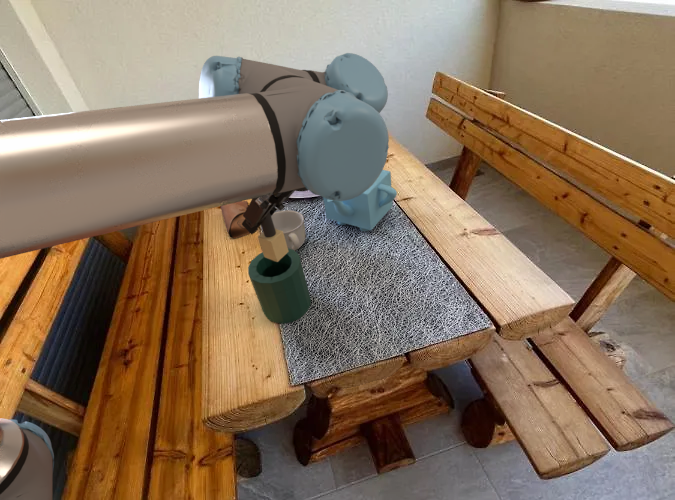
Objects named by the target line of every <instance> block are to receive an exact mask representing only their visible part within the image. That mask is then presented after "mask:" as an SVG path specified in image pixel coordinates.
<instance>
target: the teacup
mask: <svg viewBox="0 0 675 500" xmlns="http://www.w3.org/2000/svg"><path fill="white" fill-rule="evenodd" d="M271 217H272V221H273V224H274V227H275V229H278V230H281V231H283V234H284V237H285V241H286V244H287V248H289V249H292V250H294V251H295V252H296V251H297V250H299V249H300V248H301V247H302V246H303V244H304V243H305V241H306V237H307V236H306V226H305V217H304V216H303V214H302V213H301V212H299V211H296V210H291V209H290V210H281V211H280V210H279V211H275V212H274V214H273V215H272V216H271ZM260 228H261V229H262V227H261V226H260Z"/></svg>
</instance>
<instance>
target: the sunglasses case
mask: <svg viewBox="0 0 675 500" xmlns="http://www.w3.org/2000/svg"><path fill="white" fill-rule="evenodd" d="M248 206H249V202H248V200H244V201H240V202H236V203H232V204H227V205H223V206H219V207H220V211H221V214H222V218H223V221H224V225H225V229H226V232H227V234H228V237H229V238H231V239H234V240H235V239H239V238H242V237H245V236H248V235H251V234H250V233H249V231H248V230H247V229H246V228H245V227H244V226H243V225H242V223H243V221H244V220H245V218H244V217H243V215H244V213H245V211H246V208H247V207H248ZM258 230H259V228H258V229H257V230H256V231H255V232H257V231H258Z"/></svg>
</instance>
